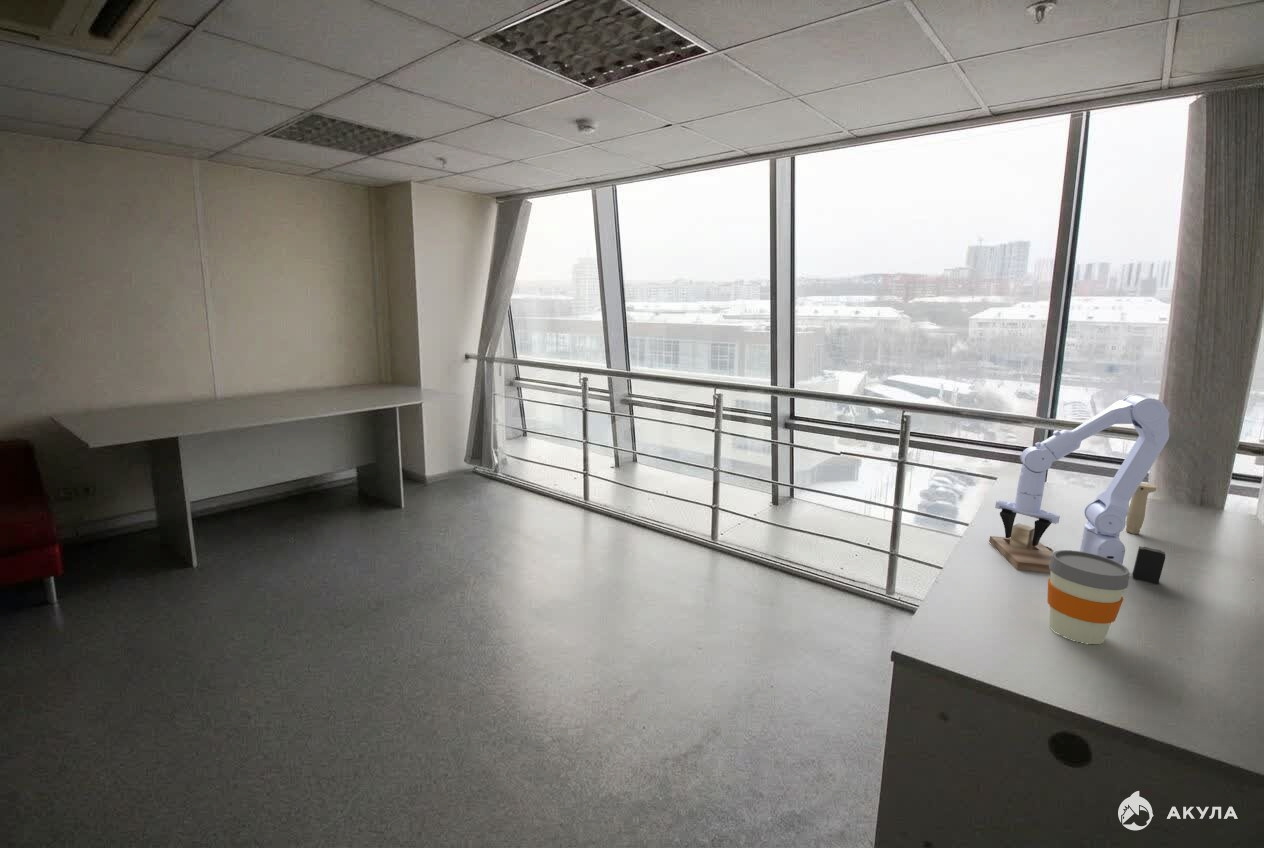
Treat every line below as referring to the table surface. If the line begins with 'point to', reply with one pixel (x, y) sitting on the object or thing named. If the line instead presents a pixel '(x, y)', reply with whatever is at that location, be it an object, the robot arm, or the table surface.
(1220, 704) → the table surface
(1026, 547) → the maple peg
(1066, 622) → the reusable coffee cup
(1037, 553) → the slotted walnut block
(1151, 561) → the ink cartridge
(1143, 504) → the handle
